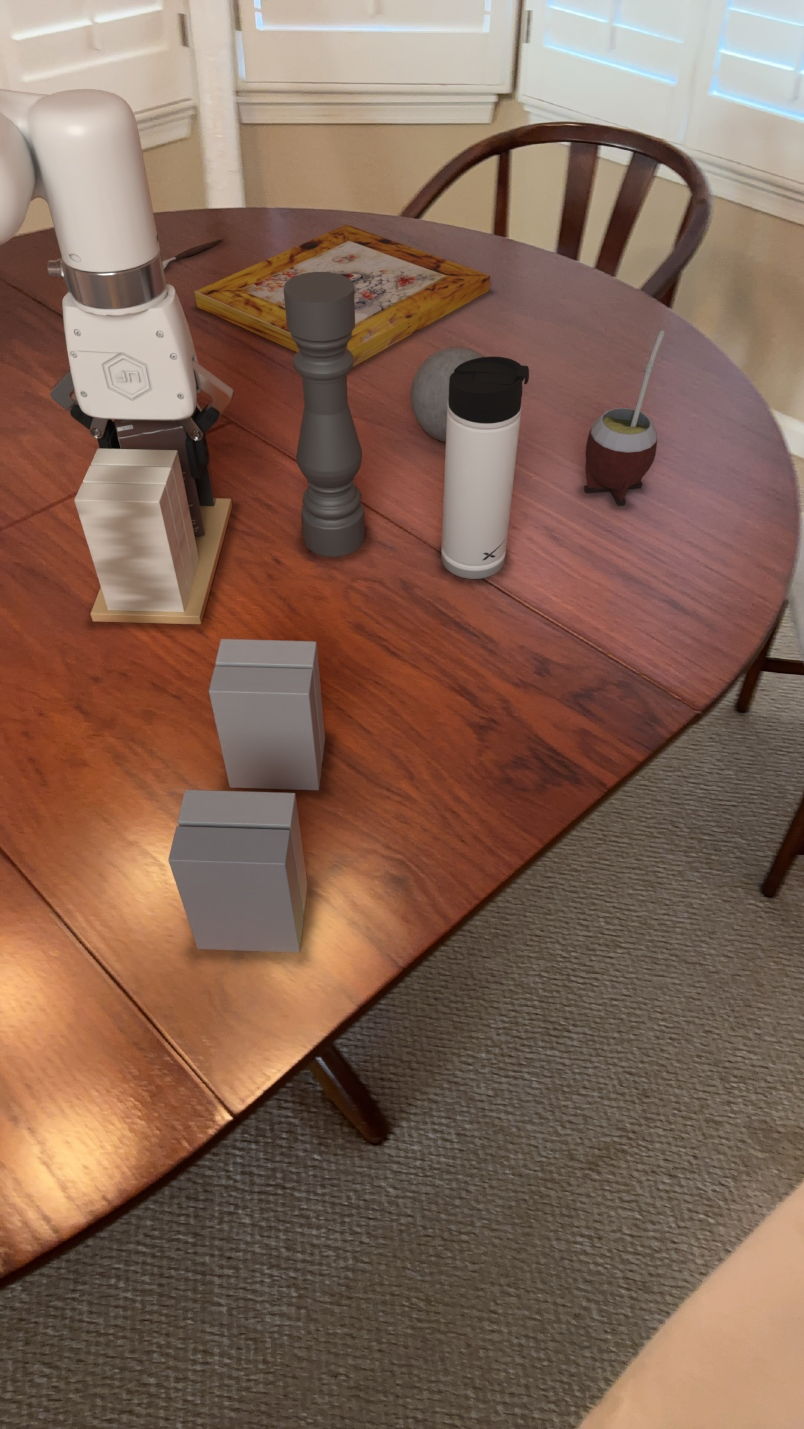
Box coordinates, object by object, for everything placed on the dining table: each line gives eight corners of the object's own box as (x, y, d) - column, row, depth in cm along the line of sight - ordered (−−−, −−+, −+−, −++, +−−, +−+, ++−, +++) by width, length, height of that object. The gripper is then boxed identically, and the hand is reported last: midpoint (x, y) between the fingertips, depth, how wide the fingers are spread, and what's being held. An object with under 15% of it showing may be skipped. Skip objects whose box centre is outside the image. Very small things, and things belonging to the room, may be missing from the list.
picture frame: (490, 275, 130) (341, 355, 115) (488, 290, 132) (342, 372, 116) (346, 224, 142) (194, 291, 126) (347, 239, 143) (197, 307, 128)
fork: (229, 245, 142) (227, 231, 140) (142, 278, 134) (139, 264, 132) (218, 240, 143) (216, 226, 141) (131, 273, 135) (128, 258, 134)
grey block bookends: (197, 949, 64) (167, 860, 56) (239, 736, 77) (220, 638, 69) (299, 953, 64) (285, 864, 56) (325, 738, 77) (316, 640, 68)
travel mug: (504, 584, 90) (526, 390, 75) (436, 576, 90) (443, 382, 75) (511, 544, 94) (532, 352, 79) (445, 536, 94) (454, 345, 80)
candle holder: (360, 515, 97) (351, 267, 78) (369, 553, 93) (362, 301, 74) (300, 521, 96) (277, 272, 77) (306, 560, 92) (283, 306, 73)
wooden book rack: (92, 621, 86) (53, 503, 76) (136, 503, 98) (108, 388, 88) (201, 624, 86) (176, 506, 76) (232, 506, 98) (214, 390, 88)
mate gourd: (590, 511, 97) (615, 375, 86) (569, 468, 103) (590, 335, 91) (659, 504, 98) (693, 369, 87) (635, 462, 103) (664, 329, 92)
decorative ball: (395, 447, 105) (395, 363, 98) (431, 405, 111) (434, 322, 104) (477, 469, 102) (484, 384, 95) (511, 425, 108) (519, 341, 101)
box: (197, 511, 96) (178, 402, 87) (206, 537, 93) (186, 427, 84) (137, 522, 94) (111, 413, 85) (144, 549, 91) (118, 439, 82)
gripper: (-7, 295, 73) (56, 491, 86) (217, 300, 72) (245, 495, 86) (22, 255, 78) (77, 445, 91) (232, 258, 77) (256, 449, 91)
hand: (158, 468), depth 88 cm, fingers closed on box, 6 cm apart
